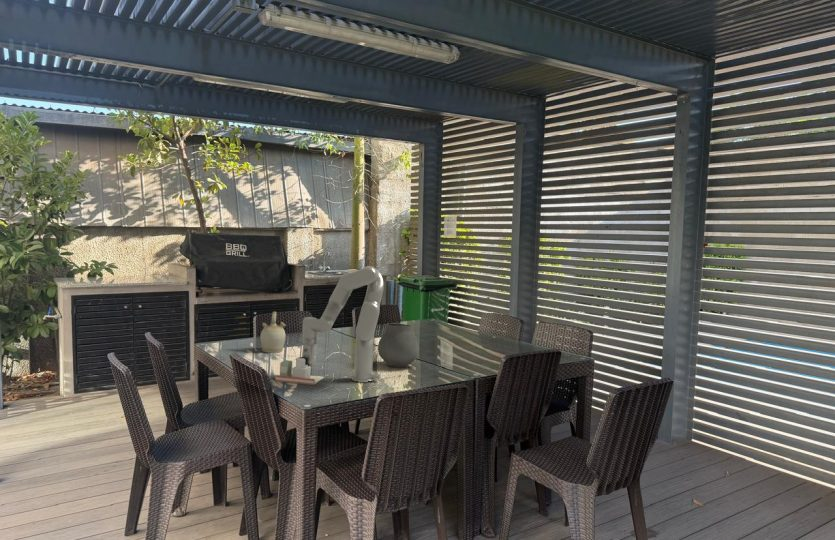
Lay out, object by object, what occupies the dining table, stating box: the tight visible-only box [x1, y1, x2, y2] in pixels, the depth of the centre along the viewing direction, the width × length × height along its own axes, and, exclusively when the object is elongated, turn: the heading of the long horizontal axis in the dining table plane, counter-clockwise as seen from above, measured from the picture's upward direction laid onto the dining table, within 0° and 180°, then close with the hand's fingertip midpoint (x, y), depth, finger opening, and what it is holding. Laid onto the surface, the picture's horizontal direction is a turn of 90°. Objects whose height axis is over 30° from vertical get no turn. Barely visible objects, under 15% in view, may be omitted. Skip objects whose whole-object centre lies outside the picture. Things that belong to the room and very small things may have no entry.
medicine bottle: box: [292, 356, 312, 379], centre depth 292 cm, size 7×7×12 cm
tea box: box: [279, 359, 293, 377], centre depth 294 cm, size 4×6×9 cm, turn 170°
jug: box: [259, 311, 287, 354], centre depth 359 cm, size 15×16×25 cm
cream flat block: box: [275, 374, 325, 386], centre depth 296 cm, size 20×17×3 cm
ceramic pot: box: [377, 322, 420, 368], centre depth 337 cm, size 24×24×25 cm
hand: (307, 375), depth 301 cm, fingers closed
